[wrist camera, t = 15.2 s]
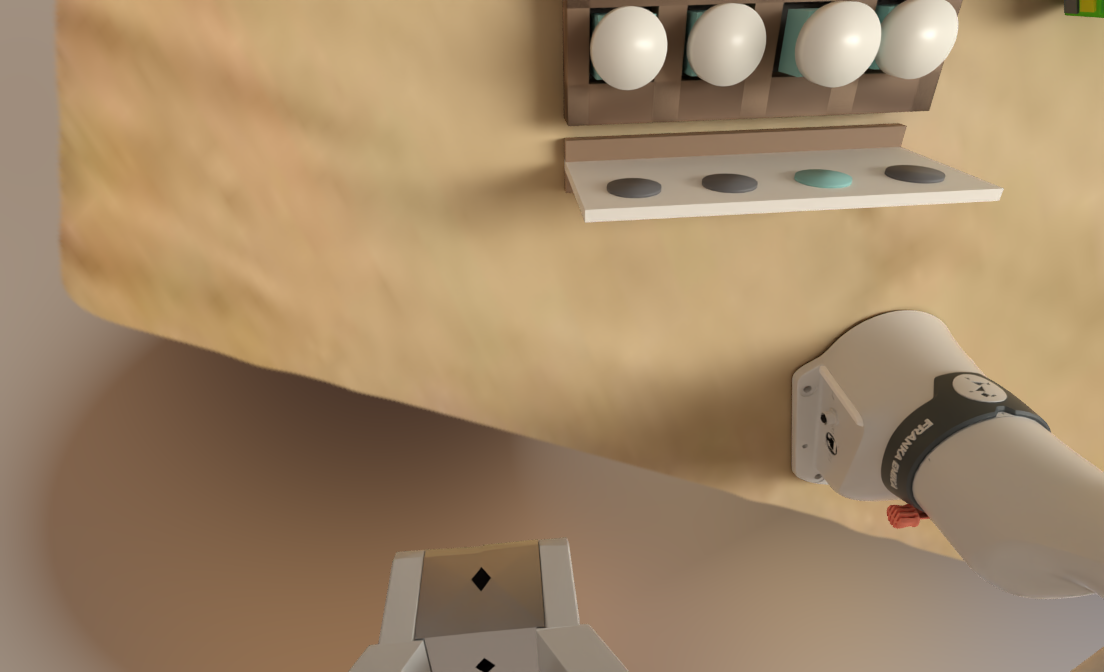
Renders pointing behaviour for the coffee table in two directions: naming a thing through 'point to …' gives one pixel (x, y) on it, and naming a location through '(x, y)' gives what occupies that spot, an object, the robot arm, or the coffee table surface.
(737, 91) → the walnut button board
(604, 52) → the button
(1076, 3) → the toy car
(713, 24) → the button
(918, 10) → the button
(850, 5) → the button
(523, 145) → the coffee table surface
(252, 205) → the coffee table surface
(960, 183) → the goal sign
